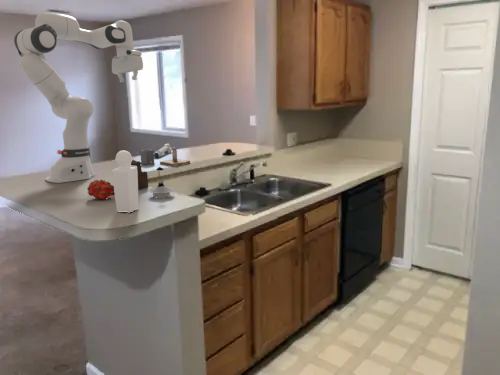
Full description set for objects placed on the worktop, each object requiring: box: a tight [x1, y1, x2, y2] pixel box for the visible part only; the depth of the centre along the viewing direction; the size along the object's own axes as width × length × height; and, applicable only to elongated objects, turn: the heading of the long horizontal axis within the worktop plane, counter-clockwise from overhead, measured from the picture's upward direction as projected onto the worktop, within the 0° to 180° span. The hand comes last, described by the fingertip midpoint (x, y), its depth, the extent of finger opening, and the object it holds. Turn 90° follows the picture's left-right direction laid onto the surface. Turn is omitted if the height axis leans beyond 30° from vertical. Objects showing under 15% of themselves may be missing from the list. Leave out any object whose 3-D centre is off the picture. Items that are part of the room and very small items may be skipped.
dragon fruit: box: [87, 179, 115, 200], centre depth 172 cm, size 8×8×12 cm
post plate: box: [159, 146, 191, 168], centre depth 246 cm, size 12×12×10 cm
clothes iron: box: [131, 159, 149, 190], centre depth 192 cm, size 8×16×13 cm, turn 44°
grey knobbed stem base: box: [148, 166, 175, 199], centre depth 174 cm, size 12×10×10 cm
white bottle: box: [111, 149, 140, 212], centre depth 153 cm, size 6×6×22 cm
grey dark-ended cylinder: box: [154, 143, 173, 159], centre depth 278 cm, size 5×7×25 cm
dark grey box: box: [139, 148, 155, 166], centre depth 246 cm, size 5×6×8 cm
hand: (128, 80), depth 229 cm, fingers open, 8 cm apart
